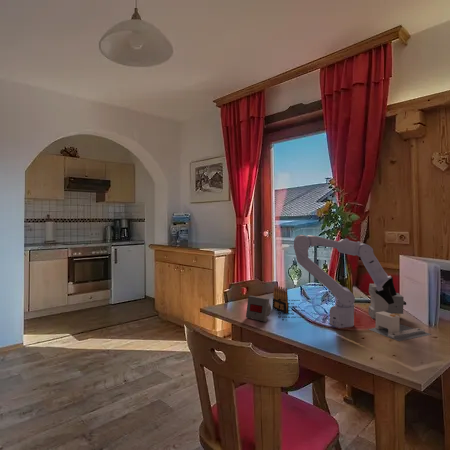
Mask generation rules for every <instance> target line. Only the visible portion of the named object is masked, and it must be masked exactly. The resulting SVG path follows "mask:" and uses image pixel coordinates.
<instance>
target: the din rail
mask: <svg viewBox="0 0 450 450" xmlns="http://www.w3.org/2000/svg"><path fill="white" fill-rule="evenodd" d="M425 332H426V331H425V329H423V328H419V327H417V328H414V329H410V330H405V331H400V332H394V333H389V334H388V337H387V338H389V337H391V338H390V339H392V338H393V339H392V340H394V339H395V338H400V337H405V336H410V335H415V334H420V333H425Z"/></svg>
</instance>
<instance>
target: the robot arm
mask: <svg viewBox="0 0 450 450" xmlns="http://www.w3.org/2000/svg"><path fill="white" fill-rule="evenodd" d="M316 246H320V247H321V246H322V247H327V248H331V249H337V252H338V253H342V254H345V255H348V256H349V255H350V256H354V257H355V256H357V257H359V258H360V260H361V262H362V264H363V265H364V267H365V269H366V271H367V272H368V275H369V276H370V278H371V279H372V282H373V284H375V285H376V289H377V290H375V293H376V294H378V295H380V296H381V297H382V298H383V299H384V300H385V301H386V302H387V303H388V304H393V303H394V300H393V298H392V296H395V295H397V294H396V293H397V291H396V287H395V284H394V277H393V276H391V275H389V274H388V273H387V272H386V271H385V269H384V268H383V266H382V265H381V263H380V261H379V259H378V258H377V257H376V255H375V253H374V248H373V247H372V246H370V245H369V244H367V243H364V242H361V241H359V240H358V241H353V240H350V239H349V238H342V239H340V240H333V239H330V238H325V237H322V236H318V235H311V234H310V235H308V234H307V235H305V234H297V235H296V236H295V237H294V240H293V249H294V254H295V257H296V261H297V263H298V264H299V265H300V266H302V267H301V268H303V269H304V270H306V271H307V272H308V273H309V274H311V276H312V277H314V278H315V279H316V281H318V282H319V283H321V284H322V285H323V286H324V287H325V288H326V289H328V290H329V291H330V292H331V293H332V294H333V295H334V296H335V297H336V298H337V301H335V304H334V305H333V306H331V307H330V308H329V319H328V320H329V321H328V323H329V325H332V326H333V327H336V328H338V329H343V328H352V327H354V325H355V302H356V296H355V295H354V293H353V292H351V290H350V288H348V287H346V286H343V285H341V284H340V283H339V282H337V281H336V280H335V279H334V278H333V277H332V276H330V274H328V273H327V272H326V271H324V269H322V268H321V267H320V266H319V265H318V264H317V263H315V261H313V260H312V259H311V258H310V257H309V249H310V247H311V248H313V247H316Z"/></svg>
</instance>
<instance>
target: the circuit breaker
mask: <svg viewBox="0 0 450 450" xmlns="http://www.w3.org/2000/svg"><path fill="white" fill-rule="evenodd" d="M375 290H377V289H376V285H375V284H374V283H369V286H368V293H369V296H370V305H368V310H367V311H368V315H369V317H371V319H374V320H376V312H382V311H384V312H387V313H391V314H394V315H398V314H399V315H403V314H404V306H406V305H407V302H406V301H404V296H403V295H402V294H400V293H399V292H396V294H397V295H395V296H392V298H393V300H394V303H393V304H388V303H387V302H386V301H385V300H384V299H383V298H382V297H381V296H380V295H378V294H376V293H375Z"/></svg>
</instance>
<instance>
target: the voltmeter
mask: <svg viewBox="0 0 450 450" xmlns="http://www.w3.org/2000/svg"><path fill="white" fill-rule="evenodd" d="M247 297H248V298H247V305H246V311H245V312H246V313H245V318H247V319H251V320H256V321H260V322H264V323H267V321H268V316H270V314H271V313H272V307H271V306H272V305H271V303H270V302H269V301H270V298H268V297H262V296H261V297H259V296H255V295H248V296H247ZM279 300H280V301H281V299H278V301H279ZM282 301H283V300H282ZM284 301H285V300H284ZM286 301H287V300H286ZM297 301H299V299H290V302H288V304H289V306H288V308H289V310H287V311H289V313H282V312H280V311H281V309H278V310H277V314H278V317H277V318H278V319H281V317H282V321H288V318H291V319H297V318H299V319H301V318H302V319H303V318H304V316H291V317H290V316H281V315H294V313H293V309H294V308H298V307H297V305H296V306H295V302H297ZM292 302H293V303H292ZM303 302H306V299H303ZM278 303H279V304H280V302H278ZM282 304H283V303H282ZM284 304H286V303H284ZM290 305H291V306H290ZM292 305H294V306H292ZM279 308H280V305H279ZM282 308H283V306H282ZM284 308H286V306H284ZM292 308H293V309H292ZM291 309H292V310H291ZM282 311H283V310H282ZM284 311H286V310H284ZM299 311H300V309H294V312H299ZM290 312H291V313H290ZM302 312H305V309H302ZM285 318H287V319H285Z"/></svg>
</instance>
